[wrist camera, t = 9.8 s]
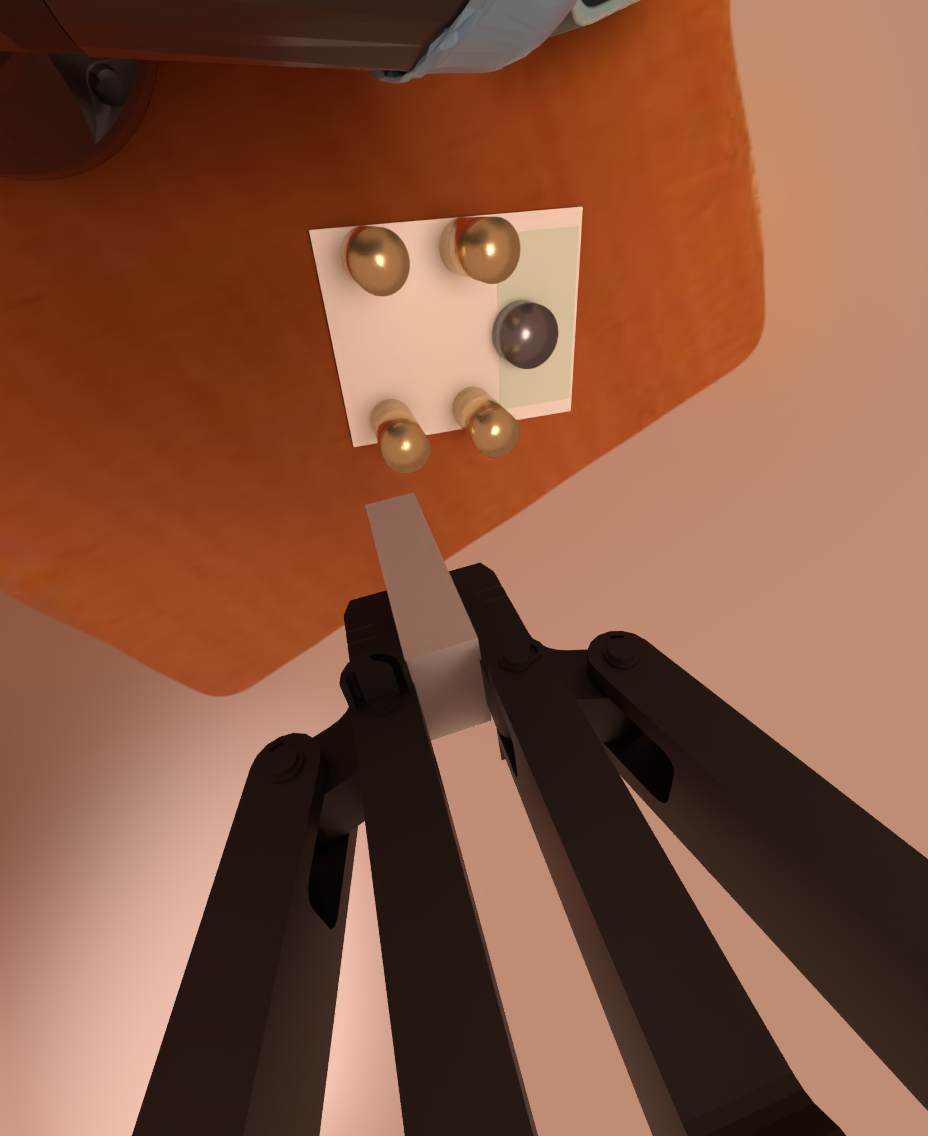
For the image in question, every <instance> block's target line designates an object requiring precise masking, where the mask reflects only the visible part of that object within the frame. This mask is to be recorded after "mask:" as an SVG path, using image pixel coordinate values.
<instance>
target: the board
mask: <svg viewBox="0 0 928 1136" xmlns="http://www.w3.org/2000/svg"><path fill="white" fill-rule="evenodd" d="M582 209H583V207H572V208H560V209H548V210H537V211H525V212H514V213H502V214H490V215H479V216H467V217H501V218H504V219H506V220H507V221H509V222H510V223H511V224H512V225H513V227H514V228H515V230H516V231H517V234H518V236H519V240H520V248H521V249H520V258H519V262H518V264H517V267H516V269H515V270H514V272H513V273H512V274H511V276H510V277H508V278H507V279H506V280H505V281H503V282H500V283H497V284H487V283H484V282H481V281H477V280H474V279H471V278H468V277H465V276H462V275H459V274H456V273H454V272H452V271H450V270H449V269H448V268H447V267H446V266H445V264H444V263H443V261H442V259H441V256H440V251H439V241H440V237H441V233H442V231H443V229H444V228H445V226H446V225H447V224H448V223H449V222H450V221H452V220H453V219H456V218H459V217H455V218H444V219H432V220H420V221H409V222H397V223H385V224H374V225H362V226H376V227H384V228H387V229H389V230H391V231H393V232H394V233H396V234H397V235H398V236H399V237H400V238H401V239H402V241H403V242H404V244H405V246H406V248H407V250H408V254H409V259H410V270H409V275H408V278H407V280H406V282H405V284H404V285H403V287H402V288H401V289H400V290H399V291H397V292H396V293H394V294H392V295H389V296H382V297H381V296H375V295H372V294H370V293H368V292H367V291H365V290H364V289H363V288H362V287H361V286H360V285H359V284H358V283H356V282H355V281H354V280H353V279H352V278H351V277H350V276H349V275H348V273H347V272H346V270H345V268H344V266H343V264H342V260H341V245H342V241H343V239H344V237H345V235H346V234H347V233H348V232H349V231H350V230H351V229H353V228H355V227H358V226H350V227H339V228H327V229H315V230H309V233H310V238H311V243H312V248H313V253H314V258H315V263H316V267H317V272H318V277H319V282H320V287H321V292H322V297H323V301H324V306H325V311H326V316H327V321H328V326H329V331H330V335H331V340H332V345H333V350H334V355H335V360H336V365H337V369H338V374H339V379H340V384H341V389H342V394H343V399H344V403H345V408H346V413H347V418H348V423H349V428H350V433H351V437H352V442H353V447H358V446H364V445H370V444H375V443H378V442H377V439H376V437H375V434H374V432H373V429H372V427H371V422H370V418H371V413H372V411H373V409H374V407H375V406H376V405H377V404H378V403H380V402H381V401H383V400H386V399H397V400H400V401H402V402H403V403H405V404H406V405H407V406H408V408H409V409H410V411H411V412H412V414H413V416H414V417H415V419H416V420H417V422H418V424H419V425H420V427H421V428H422V430H423V432H424V433H425V435H429V434H435V433H441V432H447V431H453V430H459V429H462V428H461V426H460V425H459V424H458V422H457V421H456V420H455V418H454V416H453V412H452V405H453V401H454V399H455V397H456V396H457V394H458V393H459V392H460V391H462V390H463V389H465V388H467V387H473V386H475V387H480V388H482V389H483V390H485V391H486V392H487V393H488V394H489V395H490V396H491V397H492V398H494V399H495V400H496V401H497V402H498V403H499V404H500V405H501V406H502V407H503V408H505V409H506V410H507V411H508V412H509V413H510V414H511V415H512V416H513V417H514V418H515V419H516V420H519V419H525V418H531V417H537V416H543V415H549V414H555V413H561V412H567V411H571V395H572V378H573V361H574V344H575V328H576V311H577V294H578V277H579V260H580V243H581V226H582ZM517 300H528V301H531V302H534V303H537V304H540V305H543V306H545V307H547V308H548V309H549V310H550V311H551V312H552V313H553V315H554V316H555V318H556V321H557V324H558V340H557V344H556V347H555V349H554V351H553V353H552V354H551V356H550V357H549V358H548V359H547V360H546V361H545V362H544V363H543V364H541V365H540V366H538V367H536V368H532V369H521V368H518V367H516V366H514V365H513V364H511V363H509V362H508V361H506V360H505V359H503V358H502V357H501V356H500V355H499V354H498V353H497V351H496V349H495V347H494V344H493V339H492V331H493V325H494V322H495V320H496V317H497V316H498V314H499V313H500V311H501V310H502V309H503V308H504V307H505V306H507V305H508V304H510V303H511V302H514V301H517Z"/></svg>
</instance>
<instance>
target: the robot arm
mask: <svg viewBox="0 0 928 1136" xmlns="http://www.w3.org/2000/svg"><path fill="white" fill-rule="evenodd" d="M576 2H577V0H0V176H4V177H11V178H18V179H30V180H48V179H57V178H64V177H69V176H73V175H76V174H79V173H83V172H85V171H88V170H90V169H92V168H94V167H96V166H98V165H100V164H102V163H103V162H105V161H106V160H108V159H109V158H110V157H112V156H113V155H114V154H115V153H116V152H118V151H119V150H120V149H121V148H122V147H123V146H124V145H125V143H126V142H127V141H128V140H129V139H130V137H131V136H132V135H133V133H134V132H135V131H136V129H137V127H138V125H139V124H140V122H141V120H142V118H143V116H144V114H145V112H146V109H147V107H148V104H149V101H150V98H151V95H152V91H153V87H154V83H155V77H156V72H157V63H158V60H161V61H181V62H201V63H221V64H242V65H262V66H282V67H302V68H323V69H343V70H363V71H370V73H371V75H372V76H373V77H374V78H376V79H378V80H380V81H384V82H388V83H405V82H408V81H409V80H411V79H416V78H421V77H423V76H424V75H426V74H436V73H488V72H493V71H497V70H500V69H503V68H504V67H505V66H507V65H509V64H511V63H513V62H515V61H517V60H520V59H522V58H524V57H526V56H527V55H528V54H529V53H530V52H531V51H533V50H535V49H536V48H538V47H539V46H540V45H541V44H542V43H543V42H544V41H545V40H546V39H547V38H548V37H549V36H550V35H551V34H552V32H553V31H554V30H555V29H556V28H557V27H558V26H559V25H560V23H561V22H562V21H563V20H564V18H565V17H566V16H567V14H568V13H569V12H570V10H571V9H572V8H573V6H574V5H575V4H576ZM365 507H366V511H367V515H368V519H369V522H370V526H371V530H372V534H373V538H374V542H375V546H376V550H377V554H378V558H379V561H380V565H381V569H382V573H383V577H384V581H385V585H386V589H387V590H386V591H383V592H379V593H376V594H372V595H369V596H365V597H362V598H358V599H354V600H351V601H350V602H349V604H348V607H347V609H346V612H345V614H344V622H345V630H346V637H347V643H348V652H349V660H350V662H349V663H348V664H347V665H346V667H345V668H344V670H343V671H342V673H341V677H340V684H339V685H340V687H341V689H342V692H343V694H344V696H345V698H346V701H347V703H348V705H349V708H348V710H347V711H346V713H345V714H344V715H343V716H342V717H341V718H340V720H339V721H337V722H336V723H334V724H333V725H332V726H330V727H329V728H327V729H326V730H324V731H323V732H321V733H320V734H318V735H316V736H315V737H313V738H312V737H310V736H308V735H307V734H301V733H300V734H299V733H292V734H288V735H285V736H281V737H279V738H277V739H276V740H274V741H273V742H271V743H269V744H268V745H267V746H266V747H265V748H264V749H263V750H262V751H261V752H260V753H259V754H258V755H257V757H256V758H255V760H254V762H253V764H252V766H251V768H250V771H249V774H248V777H247V780H246V784H245V786H244V789H243V792H242V796H241V799H240V802H239V805H238V808H237V811H236V814H235V818H234V820H233V824H232V827H231V830H230V833H229V836H228V839H227V842H226V845H225V848H224V851H223V855H222V858H221V861H220V864H219V867H218V870H217V873H216V876H215V880H214V883H213V886H212V889H211V892H210V895H209V898H208V901H207V904H206V907H205V910H204V913H203V917H202V920H201V923H200V926H199V929H198V932H197V935H196V938H195V941H194V945H193V948H192V951H191V954H190V957H189V960H188V963H187V966H186V969H185V973H184V975H183V979H182V982H181V985H180V988H179V991H178V994H177V997H176V1001H175V1003H174V1007H173V1010H172V1013H171V1016H170V1019H169V1022H168V1025H167V1028H166V1031H165V1034H164V1038H163V1041H162V1044H161V1047H160V1050H159V1053H158V1056H157V1060H156V1062H155V1066H154V1069H153V1072H152V1075H151V1078H150V1081H149V1084H148V1087H147V1090H146V1093H145V1097H144V1100H143V1103H142V1106H141V1109H140V1112H139V1115H138V1118H137V1121H136V1125H135V1128H134V1131H133V1134H132V1136H319V1134H320V1126H321V1119H322V1111H323V1103H324V1094H325V1086H326V1079H327V1071H328V1062H329V1054H330V1047H331V1038H332V1030H333V1023H334V1015H335V1006H336V999H337V991H338V983H339V975H340V966H341V958H342V950H343V942H344V934H345V926H346V918H347V910H348V902H349V894H350V886H351V878H352V870H353V862H354V854H355V846H356V838H357V830H358V825H360V824H361V823H362V822H364V821H365V825H366V833H367V841H368V848H369V856H370V864H371V872H372V880H373V888H374V896H375V904H376V912H377V920H378V927H379V935H380V943H381V951H382V958H383V967H384V975H385V983H386V991H387V999H388V1007H389V1014H390V1022H391V1030H392V1037H393V1046H394V1054H395V1062H396V1070H397V1078H398V1086H399V1093H400V1102H401V1109H402V1117H403V1125H404V1133H405V1136H538V1134H537V1131H536V1127H535V1123H534V1120H533V1116H532V1112H531V1108H530V1105H529V1101H528V1097H527V1093H526V1090H525V1086H524V1083H523V1079H522V1075H521V1071H520V1068H519V1064H518V1060H517V1057H516V1053H515V1049H514V1045H513V1042H512V1038H511V1034H510V1031H509V1027H508V1023H507V1020H506V1016H505V1012H504V1008H503V1005H502V1001H501V997H500V994H499V990H498V987H497V983H496V979H495V975H494V971H493V968H492V964H491V960H490V957H489V953H488V949H487V946H486V942H485V938H484V935H483V931H482V927H481V923H480V920H479V916H478V912H477V909H476V905H475V901H474V898H473V894H472V890H471V886H470V883H469V879H468V875H467V872H466V868H465V864H464V860H463V857H462V853H461V850H460V846H459V842H458V839H457V835H456V831H455V827H454V824H453V820H452V816H451V813H450V809H449V805H448V802H447V798H446V794H445V790H444V787H443V783H442V779H441V775H440V772H439V768H438V764H437V761H436V758H435V755H434V751H433V747H432V744H431V740H433V739H436V738H439V737H442V736H445V735H448V734H451V733H454V732H457V731H460V730H463V729H466V728H469V727H472V726H475V725H478V724H481V723H485V722H488V721H491V715H492V717H493V720H494V722H495V725H496V727H497V733H498V740H499V746H500V753H501V759H502V760H504V759H506V761H507V763H508V766H509V768H510V771H511V774H512V777H513V779H514V782H515V784H516V787H517V789H518V792H519V794H520V797H521V800H522V802H523V804H524V807H525V810H526V812H527V815H528V817H529V820H530V823H531V825H532V828H533V830H534V833H535V835H536V838H537V840H538V843H539V846H540V848H541V851H542V853H543V856H544V858H545V861H546V863H547V866H548V869H549V871H550V874H551V876H552V879H553V881H554V884H555V886H556V889H557V891H558V894H559V897H560V899H561V901H562V904H563V907H564V910H565V912H566V915H567V917H568V920H569V922H570V925H571V928H572V930H573V933H574V935H575V938H576V940H577V943H578V946H579V948H580V950H581V953H582V956H583V958H584V961H585V963H586V966H587V968H588V971H589V974H590V976H591V979H592V981H593V983H594V987H595V989H596V991H597V994H598V997H599V999H600V1002H601V1004H602V1007H603V1010H604V1012H605V1015H606V1017H607V1020H608V1022H609V1025H610V1027H611V1030H612V1033H613V1035H614V1038H615V1040H616V1043H617V1045H618V1048H619V1050H620V1053H621V1056H622V1058H623V1061H624V1063H625V1066H626V1068H627V1071H628V1074H629V1076H630V1079H631V1081H632V1084H633V1086H634V1089H635V1091H636V1094H637V1097H638V1099H639V1102H640V1104H641V1107H642V1109H643V1112H644V1115H645V1117H646V1120H647V1122H648V1125H649V1127H650V1130H651V1132H652V1135H653V1136H846V1135H845V1134H844V1132H843V1131H842V1130H841V1129H840V1127H838V1125H836V1124H835V1123H834V1122H833V1121H832V1120H831V1119H830V1118H829V1117H828V1116H827V1115H826V1114H825V1113H824V1112H823V1111H822V1110H821V1109H820V1108H819V1107H818V1106H817V1105H816V1104H815V1103H814V1102H813V1101H812V1100H811V1098H810V1097H809V1096H808V1095H807V1093H806V1092H805V1091H804V1089H803V1088H802V1086H801V1085H800V1083H799V1082H798V1080H797V1079H796V1077H795V1075H794V1074H793V1072H792V1070H791V1069H790V1067H789V1066H788V1064H787V1062H786V1060H785V1058H784V1057H783V1055H782V1053H781V1052H780V1050H779V1048H778V1046H777V1045H776V1043H775V1041H774V1040H773V1038H772V1036H771V1034H770V1033H769V1031H768V1029H767V1028H766V1026H765V1024H764V1022H763V1021H762V1019H761V1017H760V1015H759V1014H758V1012H757V1010H756V1009H755V1007H754V1005H753V1004H752V1002H751V1000H750V998H749V997H748V995H747V993H746V991H745V990H744V988H743V986H742V985H741V983H740V981H739V979H738V978H737V976H736V974H735V972H734V971H733V969H732V967H731V966H730V964H729V962H728V960H727V959H726V957H725V955H724V954H723V952H722V950H721V948H720V947H719V945H718V943H717V942H716V940H715V938H714V936H713V935H712V933H711V931H710V929H709V928H708V926H707V924H706V923H705V921H704V919H703V917H702V916H701V914H700V912H699V911H698V909H697V907H696V905H695V904H694V902H693V900H692V899H691V897H690V895H689V893H688V892H687V890H686V888H685V887H684V885H683V883H682V881H681V880H680V878H679V876H678V875H677V873H676V871H675V869H674V868H673V866H672V864H671V862H670V861H669V859H668V857H667V855H666V854H665V852H664V850H663V849H662V847H661V845H660V844H659V842H658V840H657V838H656V837H655V835H654V833H653V831H652V830H651V828H650V826H649V825H648V823H647V821H646V819H645V818H644V816H643V814H642V813H641V811H640V809H639V807H638V806H637V804H636V802H635V800H634V799H633V797H632V795H631V794H630V792H629V790H628V788H627V787H626V785H625V784H624V782H623V780H622V778H623V779H624V780H625V781H626V782H627V783H628V784H629V785H630V786H631V787H632V789H633V790H634V791H635V792H636V793H637V794H638V795H639V796H640V797H641V798H642V799H643V801H645V803H646V804H647V805H648V806H649V807H650V808H651V809H652V810H653V811H654V813H655V814H656V815H657V816H658V817H659V818H660V819H661V820H662V821H663V822H664V823H665V824H666V826H667V827H668V828H669V829H670V830H671V831H672V832H673V833H674V834H675V835H676V837H677V838H678V839H679V840H680V841H681V842H682V843H683V844H684V845H685V846H686V847H687V849H688V850H689V851H690V852H691V853H692V854H693V855H694V856H695V857H696V858H697V859H698V860H699V861H700V863H701V864H702V865H703V866H704V867H705V868H706V869H707V870H708V871H709V873H710V874H711V875H712V876H713V877H714V878H715V879H716V880H717V881H718V882H719V883H720V885H722V887H723V888H724V889H725V890H726V891H727V892H728V893H729V894H730V895H731V897H732V898H733V899H734V900H735V901H736V902H737V903H738V904H739V905H740V906H741V907H742V908H743V910H744V911H745V912H746V913H747V914H748V915H749V916H750V917H751V918H752V919H753V921H754V922H755V923H756V924H757V925H758V926H759V927H760V928H761V929H762V930H763V931H764V933H765V934H766V935H768V937H769V938H770V939H771V940H772V941H773V942H774V943H775V945H776V946H777V947H778V948H779V949H780V950H781V951H782V952H783V953H784V954H785V955H786V957H787V958H788V959H789V960H790V961H791V962H792V963H793V964H794V965H795V966H796V967H797V969H798V970H799V971H800V972H801V973H802V974H803V975H804V976H805V977H806V978H807V980H808V981H809V982H810V983H811V984H812V985H813V986H814V987H815V988H816V989H817V990H818V991H819V992H820V994H821V995H822V996H823V997H824V998H825V999H826V1000H827V1001H828V1002H829V1003H830V1005H831V1006H832V1007H833V1008H834V1009H835V1010H836V1011H837V1012H838V1013H839V1014H840V1016H841V1017H842V1018H843V1019H844V1020H845V1021H846V1022H847V1023H848V1024H849V1025H850V1026H851V1028H852V1029H853V1030H854V1031H855V1032H856V1033H857V1034H858V1035H859V1036H860V1037H861V1038H862V1040H863V1041H865V1043H866V1044H867V1045H868V1046H869V1047H870V1048H871V1049H872V1050H873V1051H874V1053H875V1054H876V1055H877V1056H878V1057H879V1058H880V1059H881V1060H882V1061H883V1062H884V1064H886V1066H887V1067H888V1068H889V1069H890V1070H891V1071H892V1072H893V1073H894V1074H895V1075H896V1077H897V1078H898V1079H899V1080H900V1081H901V1082H902V1083H903V1084H904V1085H905V1086H906V1087H907V1089H908V1090H909V1091H910V1092H911V1093H912V1094H913V1095H914V1096H915V1097H916V1098H917V1100H918V1101H919V1102H920V1103H921V1104H922V1105H923V1106H924V1107H925V1108H926V1109H927V1110H928V859H927V858H926V857H924V856H923V855H922V854H920V853H919V852H918V851H917V850H915V849H914V848H913V847H911V846H910V845H909V844H907V843H906V842H905V841H904V840H902V839H901V838H900V837H898V836H897V835H896V834H895V833H893V832H892V831H891V830H890V829H888V828H887V827H886V826H884V825H883V824H882V823H881V822H879V821H878V820H877V819H875V818H874V817H873V816H872V815H870V814H869V813H868V812H866V811H865V810H864V809H863V808H861V807H860V806H859V805H857V804H856V803H855V802H853V801H852V800H851V799H850V798H848V797H847V796H846V795H844V794H843V793H842V792H841V791H839V790H838V789H837V788H835V787H834V786H833V785H832V784H830V783H829V782H828V781H826V780H825V779H824V778H823V777H821V776H820V775H819V774H817V773H816V772H815V771H814V770H812V769H811V768H810V767H808V766H807V765H806V764H805V763H803V762H802V761H801V760H799V759H798V758H797V757H796V756H794V755H793V754H792V753H790V752H789V751H788V750H787V749H785V748H784V747H783V746H781V745H780V744H779V743H778V742H776V741H775V740H774V739H772V738H771V737H770V736H768V735H767V734H766V733H765V732H763V731H762V730H761V729H759V728H758V727H757V726H756V725H754V724H753V723H752V722H750V721H749V720H748V719H746V718H745V717H744V716H743V715H741V714H740V713H739V712H738V711H736V710H735V709H734V708H732V707H731V706H730V705H729V704H727V703H726V702H725V701H723V700H722V699H721V698H719V697H718V696H717V695H716V694H714V693H713V692H712V691H711V690H709V689H708V688H707V687H705V686H704V685H703V684H701V683H700V682H699V681H698V680H696V679H695V678H694V677H692V676H691V675H690V674H689V673H687V672H686V671H685V670H683V669H682V668H681V667H680V666H678V665H677V664H675V663H674V662H673V661H672V660H671V659H669V658H668V657H667V656H665V655H664V654H663V653H662V652H660V651H659V650H658V649H656V648H655V647H654V646H653V645H651V644H650V643H649V642H647V641H646V640H645V639H643V638H641V637H639V636H637V635H635V634H633V633H629V632H624V631H609V632H607V633H604V634H601V635H599V636H597V637H596V638H595V639H594V640H593V641H592V642H591V643H590V646H589V648H588V650H556V649H551V648H547V647H545V646H543V645H542V644H541V643H540V642H539V641H537V640H534V639H533V638H532V637H531V636H530V634H529V633H528V631H527V629H526V628H525V626H524V624H523V622H522V620H521V619H520V617H519V615H518V613H517V612H516V610H515V608H514V606H513V605H512V603H511V601H510V599H509V598H508V597H507V594H506V592H505V590H504V589H503V587H502V586H501V584H500V582H499V580H498V578H497V576H496V575H495V573H494V571H492V570H491V569H489V568H488V567H486V566H485V565H483V564H481V563H477V564H474V565H470V566H467V567H463V568H459V569H456V570H452V571H448V569H447V567H446V565H445V562H444V560H443V558H442V555H441V553H440V551H439V549H438V546H437V544H436V542H435V540H434V537H433V535H432V533H431V530H430V528H429V526H428V524H427V521H426V519H425V517H424V515H423V512H422V510H421V508H420V505H419V503H418V501H417V499H416V496H415V494H414V492H413V493H409V494H405V495H401V496H397V497H393V498H390V499H386V500H382V501H378V502H374V503H370V504H366V505H365ZM490 712H491V714H490ZM619 774H620V775H621V777H622V778H621V777H620V775H619Z"/></svg>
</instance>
